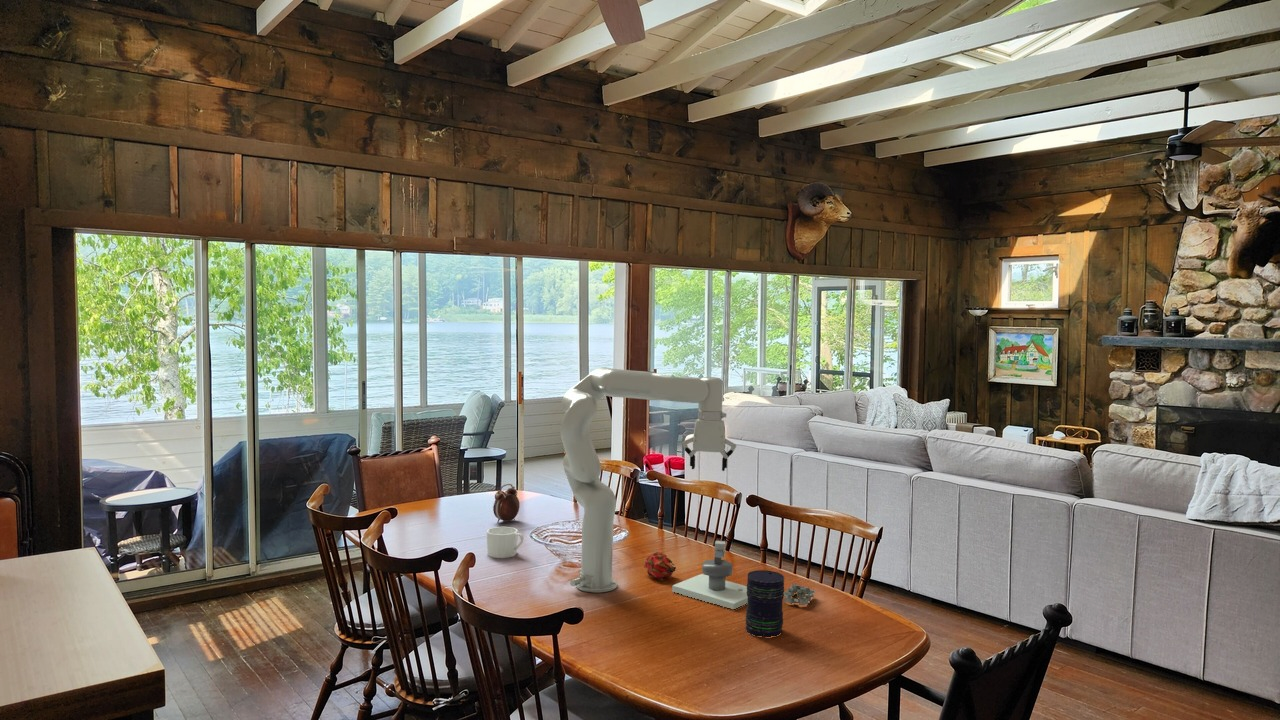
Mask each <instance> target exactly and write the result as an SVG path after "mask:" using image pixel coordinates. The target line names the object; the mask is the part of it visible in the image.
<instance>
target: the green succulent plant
mask: <svg viewBox="0 0 1280 720" xmlns="http://www.w3.org/2000/svg"><path fill="white" fill-rule="evenodd" d="M796 592H797V595H796V598H795V596H794V593H796ZM815 593H816V591H815V589H810V588H809V586H808V587H805V586H802V585H798V584H795V582H794V583H792V584H791V586H790V587H788V588H787V589H786V591H784V597H783V598H784V603H785V602H788V603H790V604H792V603H799V605H805V604H807V605H808V601H811V602H812V600H811V597H813V598H814V596H815V595H814V594H815ZM805 594H808V595H805ZM791 596H794V597H793V598H791ZM797 597H798V598H799V599H797ZM808 606H809V605H808Z"/></svg>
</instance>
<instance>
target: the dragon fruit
mask: <svg viewBox="0 0 1280 720" xmlns="http://www.w3.org/2000/svg"><path fill="white" fill-rule="evenodd" d="M643 568H645V569H647V571H646V572H647V575H648V577H649V578H651V577H652V576H653V577H654V578H655V579H657V580H658V581H666V579H664V578H665V577H666V578H668V577H669V578H671V577H672V576H673V574H674V572H676V569H677V567H676V566H675V564H674V563H673V561H672V559H670V558H668V557H667V555H666V554H665V553H662V552H660V551H656V552H652V553H651V554H650V555H648V556H647V558H646V561H645V562H644V564H643Z"/></svg>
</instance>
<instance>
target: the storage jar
mask: <svg viewBox="0 0 1280 720" xmlns="http://www.w3.org/2000/svg"><path fill="white" fill-rule="evenodd" d="M746 580H747V583H746V586H747V596H748V603H747V604H746V605H747V607H746V610H745V625H746V626H745V631H746V630H747V632H748V633H750V634H753V635H755V636H762V637H771V636H777V635H779V634H780V633H782V634H783V624H784V618H783V617H784V612H783V600H784V598H785V597H784V592H785V583H784V582H785V576H784V575H783V574H782V573H780V572H777V571H772V570H765V569H763V570H762V569H761V570H753V571H749V572H748V573H747V579H746ZM747 632H746V633H747ZM748 633H747V634H748ZM750 634H749V635H750Z"/></svg>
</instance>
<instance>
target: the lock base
mask: <svg viewBox="0 0 1280 720" xmlns="http://www.w3.org/2000/svg"><path fill="white" fill-rule="evenodd" d="M671 591H672V593H674V592H675V593H674V594H677V593H679V594H678V595H681V594H682V595H681V596H684V597H687V596H688V598H691V597H692V599H694V598H695V600H697V599H699V600H698V601H700V600H702V601H701V602H704V601H705V602H704V603H707V602H709V603H708V604H710V603H713V604H712V605H714V604H717V605H720V606H723V607H722V608H724V607H727V608H731V609H736V608H738V607H740V606H742V605H744V604H746V603H748V596H747V585H744V584H739V583H736V582H733V581H729V580H726V577H712V576H708V575H705V574H704V573H700V574H698V575H695V576H692V577H690V578H687V579H684V580H683V581H680V582H677V583H675V584H673V585H672V590H671ZM717 605H716V606H717ZM746 605H747V604H746ZM720 606H719V607H720ZM744 606H745V605H744ZM742 607H743V606H742ZM727 608H726V609H727ZM740 608H741V607H740ZM738 609H739V608H738ZM736 610H737V609H736Z"/></svg>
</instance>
